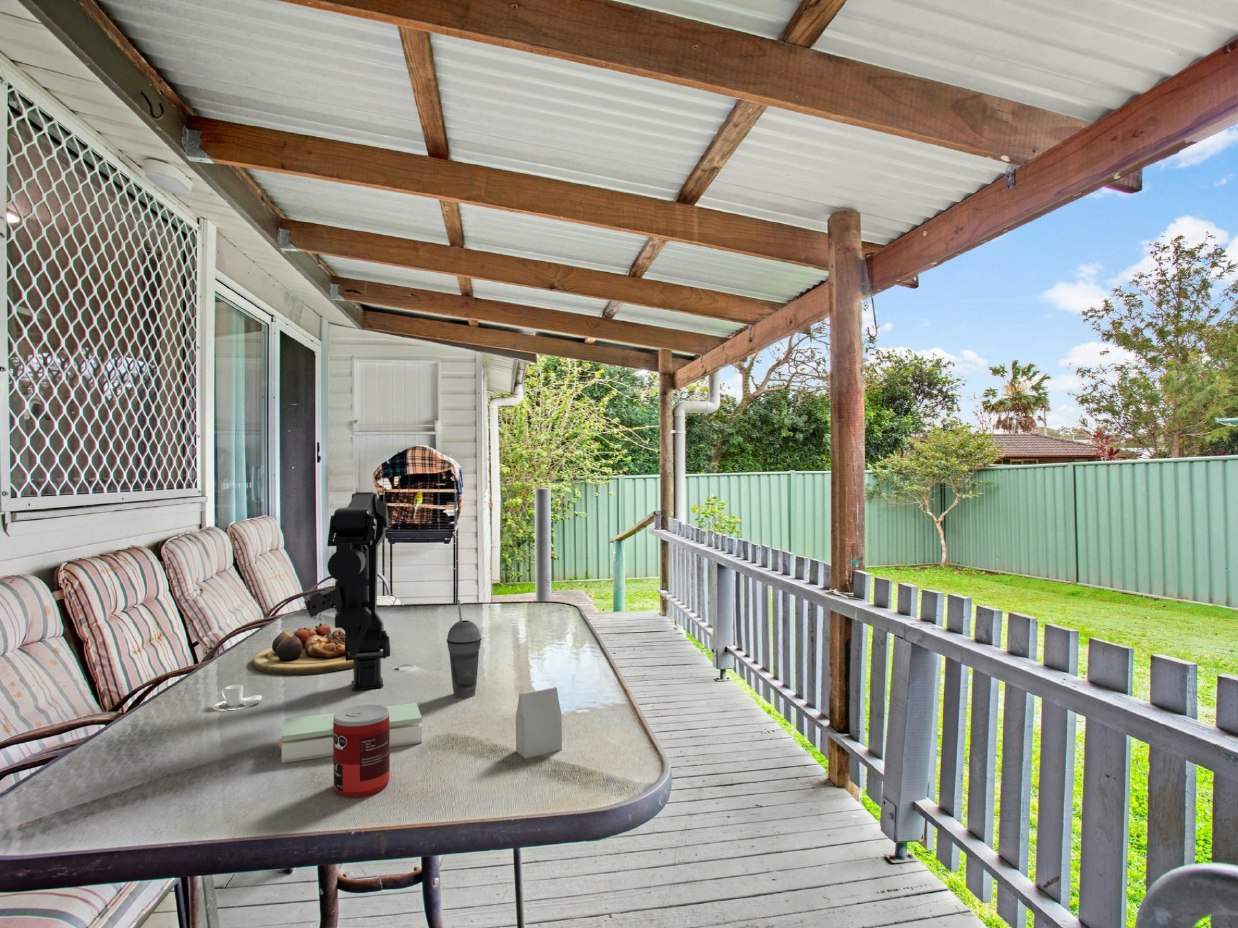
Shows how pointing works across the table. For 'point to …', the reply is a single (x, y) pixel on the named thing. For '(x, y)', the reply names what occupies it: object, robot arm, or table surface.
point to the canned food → (361, 750)
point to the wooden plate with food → (305, 652)
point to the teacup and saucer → (237, 698)
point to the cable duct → (325, 744)
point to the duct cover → (324, 723)
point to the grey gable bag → (538, 723)
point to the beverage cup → (464, 656)
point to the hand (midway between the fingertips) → (353, 655)
